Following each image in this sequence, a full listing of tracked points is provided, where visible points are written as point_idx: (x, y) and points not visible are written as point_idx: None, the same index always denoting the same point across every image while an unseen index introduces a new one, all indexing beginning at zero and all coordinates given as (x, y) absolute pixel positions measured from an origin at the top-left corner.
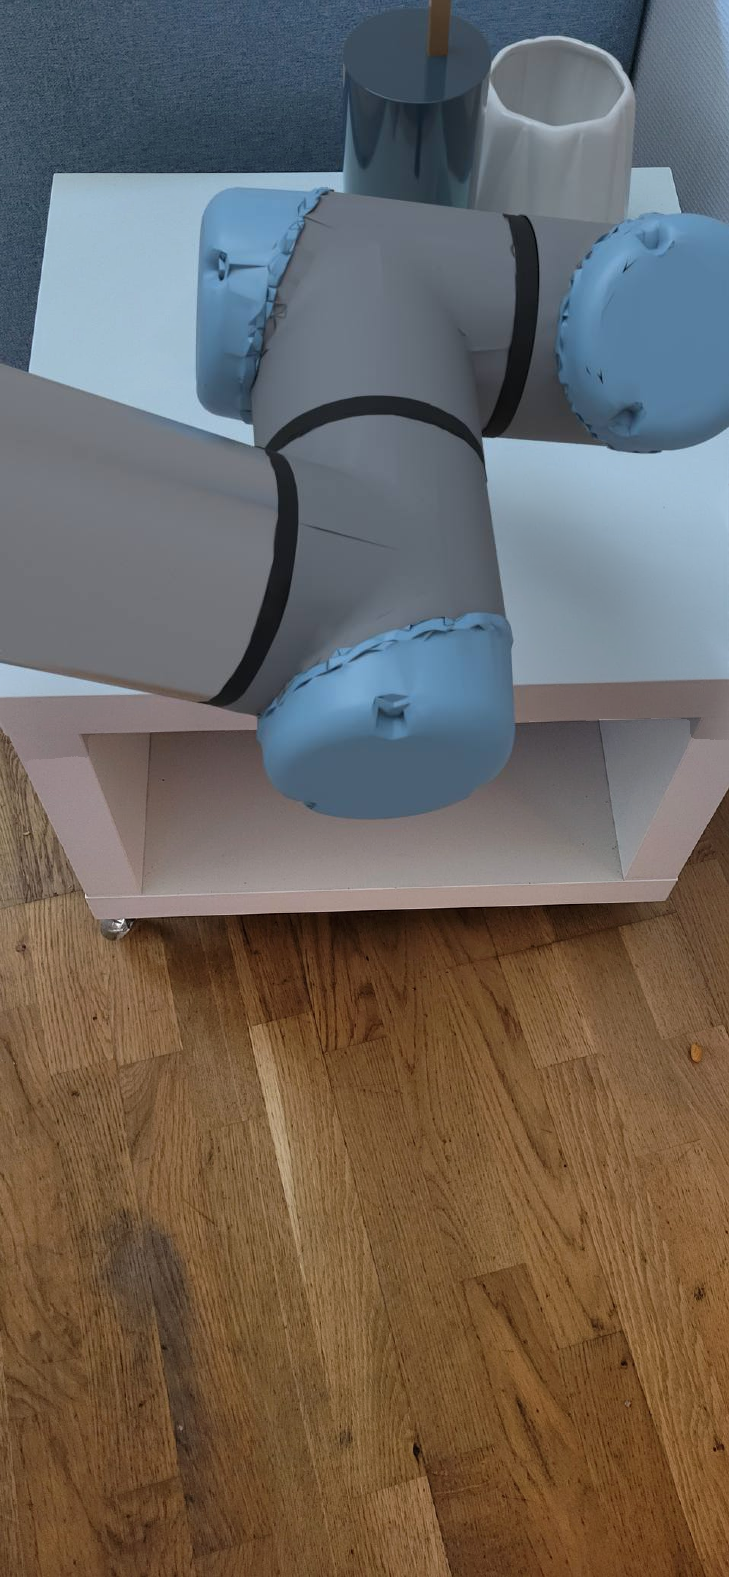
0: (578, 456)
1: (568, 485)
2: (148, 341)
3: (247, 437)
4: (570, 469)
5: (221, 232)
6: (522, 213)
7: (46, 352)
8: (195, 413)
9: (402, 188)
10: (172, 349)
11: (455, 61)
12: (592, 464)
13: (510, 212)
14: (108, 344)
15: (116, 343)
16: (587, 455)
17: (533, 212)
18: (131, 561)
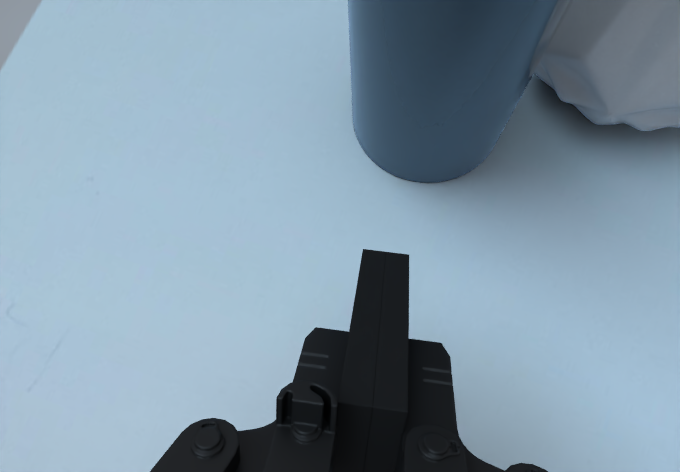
0: (597, 370)
1: (567, 415)
2: (139, 36)
3: (189, 200)
4: (578, 388)
5: None
6: (655, 9)
7: (31, 21)
8: (146, 147)
9: None
10: (160, 54)
11: None
12: (613, 391)
13: (635, 2)
14: (97, 28)
15: (106, 29)
16: (610, 373)
17: (676, 13)
18: None
